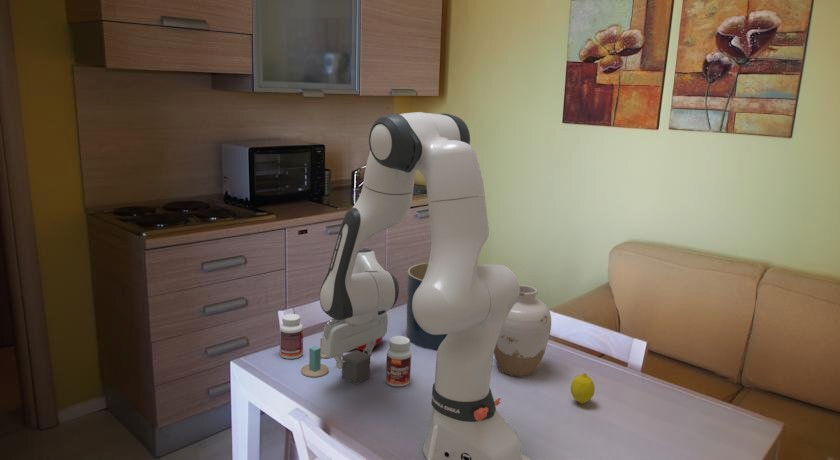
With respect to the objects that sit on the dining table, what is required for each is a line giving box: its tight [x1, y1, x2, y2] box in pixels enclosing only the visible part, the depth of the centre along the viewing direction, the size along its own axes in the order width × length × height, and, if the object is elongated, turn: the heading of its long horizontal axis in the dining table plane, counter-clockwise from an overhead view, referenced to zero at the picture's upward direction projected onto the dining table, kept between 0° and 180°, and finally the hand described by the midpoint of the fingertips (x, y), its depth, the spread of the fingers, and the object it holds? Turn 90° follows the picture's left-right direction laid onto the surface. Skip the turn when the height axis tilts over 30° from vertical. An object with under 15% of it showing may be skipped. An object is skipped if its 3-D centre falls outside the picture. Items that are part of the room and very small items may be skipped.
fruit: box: [570, 372, 595, 405], centre depth 146 cm, size 6×6×8 cm
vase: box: [493, 284, 552, 378], centre depth 161 cm, size 16×16×23 cm
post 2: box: [319, 337, 331, 359], centre depth 167 cm, size 6×6×4 cm
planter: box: [405, 261, 447, 351], centre depth 181 cm, size 22×22×20 cm
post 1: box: [300, 345, 330, 379], centre depth 156 cm, size 7×7×6 cm
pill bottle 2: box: [385, 335, 412, 387], centre depth 153 cm, size 6×6×11 cm
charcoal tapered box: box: [341, 349, 371, 385], centre depth 154 cm, size 5×5×6 cm
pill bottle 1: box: [279, 313, 304, 360], centre depth 165 cm, size 6×6×11 cm
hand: (354, 361), depth 154 cm, fingers open, 8 cm apart
